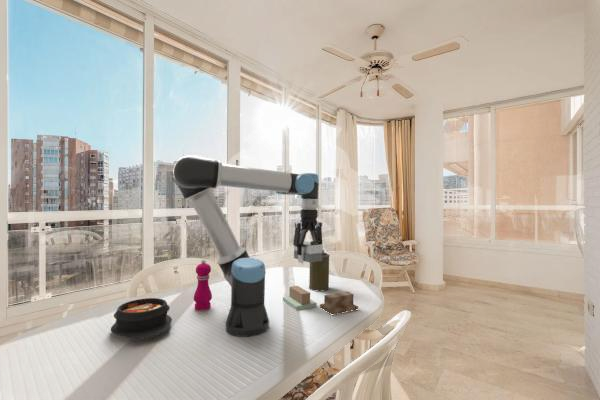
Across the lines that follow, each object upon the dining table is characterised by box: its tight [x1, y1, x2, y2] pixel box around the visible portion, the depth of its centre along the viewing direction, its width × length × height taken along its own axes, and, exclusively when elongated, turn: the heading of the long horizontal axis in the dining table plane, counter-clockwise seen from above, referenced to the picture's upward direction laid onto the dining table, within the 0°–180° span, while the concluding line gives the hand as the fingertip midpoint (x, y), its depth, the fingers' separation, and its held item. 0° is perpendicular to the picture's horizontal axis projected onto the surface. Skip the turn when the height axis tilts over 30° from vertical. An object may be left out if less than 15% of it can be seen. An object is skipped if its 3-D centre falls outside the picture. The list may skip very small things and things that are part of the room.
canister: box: [308, 249, 330, 292], centre depth 154 cm, size 11×10×20 cm
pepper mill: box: [193, 259, 213, 311], centre depth 123 cm, size 7×7×20 cm
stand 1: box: [282, 285, 318, 311], centre depth 130 cm, size 10×13×6 cm
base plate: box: [293, 249, 322, 263], centre depth 129 cm, size 11×7×4 cm, turn 37°
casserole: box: [110, 297, 173, 341], centre depth 102 cm, size 25×19×8 cm
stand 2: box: [319, 291, 359, 315], centre depth 125 cm, size 13×9×6 cm
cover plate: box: [293, 240, 324, 254], centre depth 129 cm, size 11×7×5 cm, turn 37°
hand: (307, 261), depth 129 cm, fingers closed on base plate, cover plate, 7 cm apart
